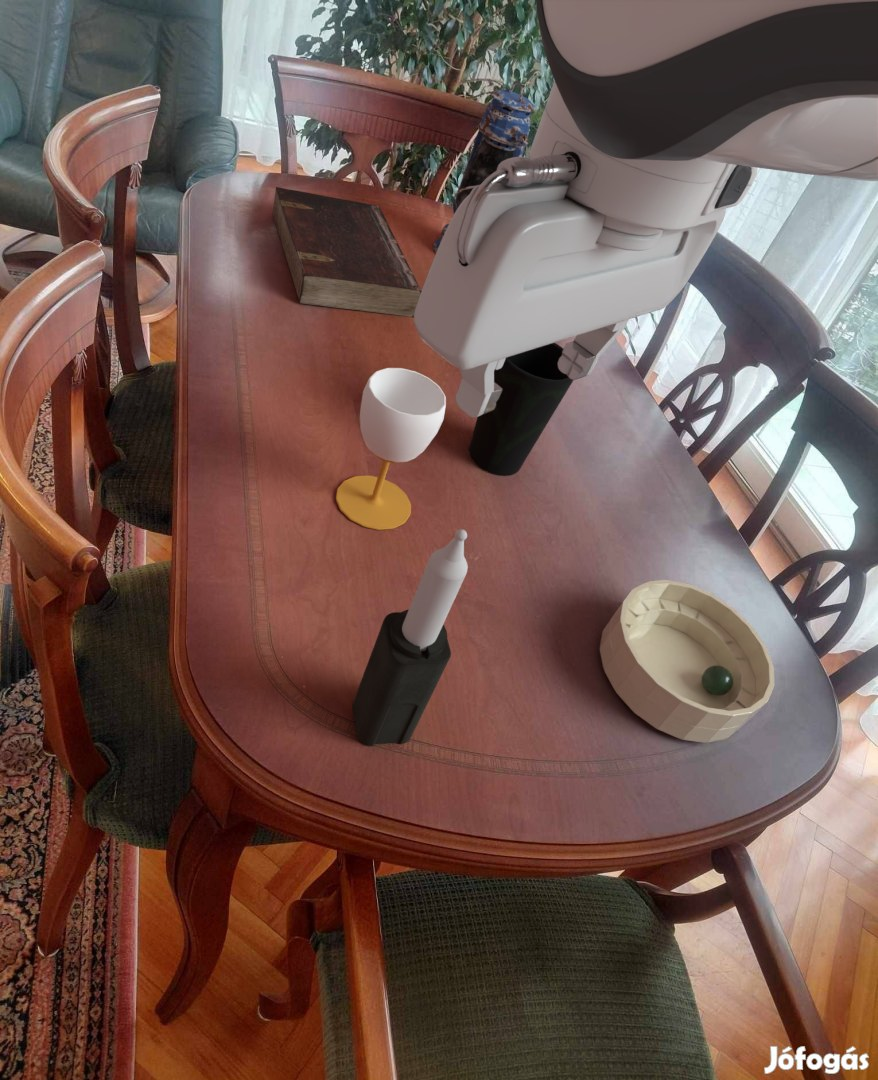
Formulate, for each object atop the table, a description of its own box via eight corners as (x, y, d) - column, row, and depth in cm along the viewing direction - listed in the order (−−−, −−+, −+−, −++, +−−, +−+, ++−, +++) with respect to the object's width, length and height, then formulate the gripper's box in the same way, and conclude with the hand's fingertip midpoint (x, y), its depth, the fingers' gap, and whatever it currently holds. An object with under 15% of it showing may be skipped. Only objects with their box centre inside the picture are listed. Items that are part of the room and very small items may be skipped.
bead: (739, 697, 82) (723, 682, 81) (711, 703, 84) (695, 689, 83) (738, 672, 84) (723, 656, 83) (711, 678, 86) (696, 663, 85)
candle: (358, 747, 69) (436, 557, 52) (350, 697, 72) (420, 503, 55) (413, 743, 71) (506, 558, 54) (402, 695, 74) (486, 506, 57)
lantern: (510, 278, 145) (574, 107, 125) (454, 276, 139) (511, 96, 119) (473, 236, 154) (527, 70, 133) (418, 233, 148) (466, 58, 127)
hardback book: (415, 317, 125) (423, 289, 121) (299, 305, 118) (304, 274, 114) (375, 230, 143) (381, 203, 140) (272, 215, 136) (275, 186, 132)
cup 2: (492, 491, 99) (538, 388, 88) (443, 442, 104) (481, 338, 93) (545, 471, 105) (594, 373, 95) (497, 426, 110) (538, 327, 99)
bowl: (744, 772, 79) (777, 742, 75) (586, 704, 79) (611, 671, 75) (742, 650, 92) (771, 618, 88) (607, 592, 92) (629, 558, 88)
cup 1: (417, 532, 90) (457, 423, 79) (339, 528, 87) (371, 413, 76) (404, 479, 96) (440, 371, 85) (331, 473, 93) (359, 360, 82)
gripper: (542, 199, 29) (440, 473, 39) (772, 172, 42) (654, 382, 52) (430, 124, 32) (359, 400, 41) (680, 121, 45) (583, 330, 54)
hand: (525, 389), depth 46 cm, fingers open, 8 cm apart
